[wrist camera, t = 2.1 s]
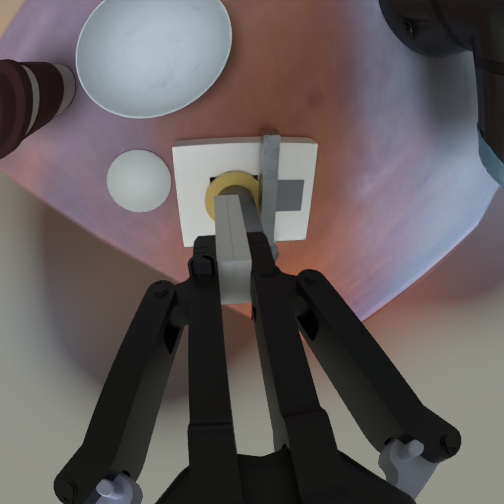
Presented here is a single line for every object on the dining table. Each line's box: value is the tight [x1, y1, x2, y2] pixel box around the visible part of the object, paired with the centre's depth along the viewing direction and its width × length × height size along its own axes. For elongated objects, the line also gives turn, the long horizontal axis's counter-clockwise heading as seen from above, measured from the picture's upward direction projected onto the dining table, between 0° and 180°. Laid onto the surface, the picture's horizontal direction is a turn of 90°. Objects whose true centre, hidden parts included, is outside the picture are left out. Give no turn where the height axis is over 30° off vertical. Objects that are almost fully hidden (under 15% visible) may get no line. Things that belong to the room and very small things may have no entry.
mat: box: [107, 149, 171, 212], centre depth 34 cm, size 9×9×1 cm
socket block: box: [172, 137, 318, 247], centre depth 35 cm, size 17×14×4 cm
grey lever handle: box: [258, 130, 280, 262], centre depth 32 cm, size 17×3×2 cm, turn 179°
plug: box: [205, 171, 265, 234], centre depth 31 cm, size 7×7×13 cm
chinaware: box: [76, 0, 232, 118], centre depth 21 cm, size 15×15×8 cm
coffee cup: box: [0, 59, 75, 159], centre depth 18 cm, size 10×10×15 cm
